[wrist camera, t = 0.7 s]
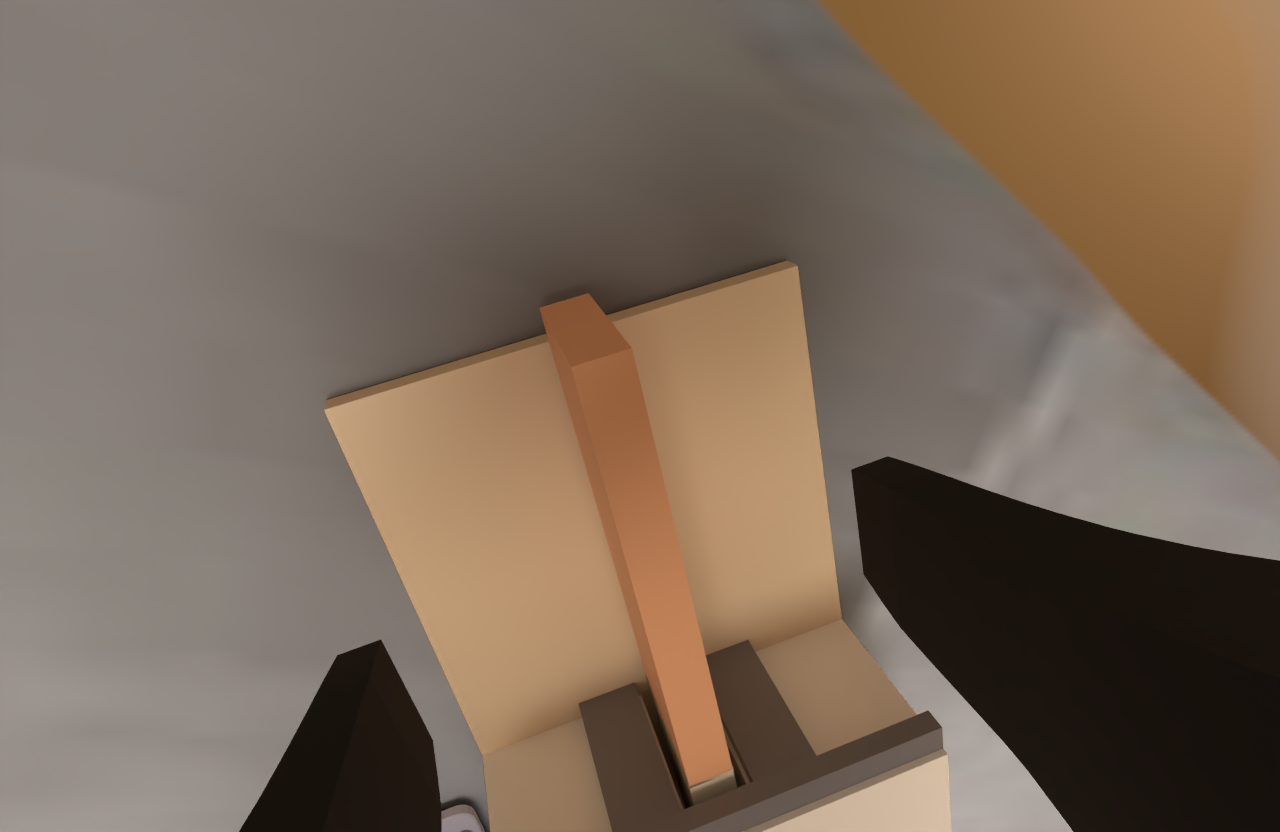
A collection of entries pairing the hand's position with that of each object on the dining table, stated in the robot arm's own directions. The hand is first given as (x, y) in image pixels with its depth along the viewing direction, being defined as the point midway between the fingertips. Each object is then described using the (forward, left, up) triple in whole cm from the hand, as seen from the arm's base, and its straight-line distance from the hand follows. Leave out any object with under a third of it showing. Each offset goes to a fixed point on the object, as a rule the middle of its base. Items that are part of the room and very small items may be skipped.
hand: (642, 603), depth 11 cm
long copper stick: (-8, -1, -8) cm, 12 cm away
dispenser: (-10, -1, -9) cm, 14 cm away
